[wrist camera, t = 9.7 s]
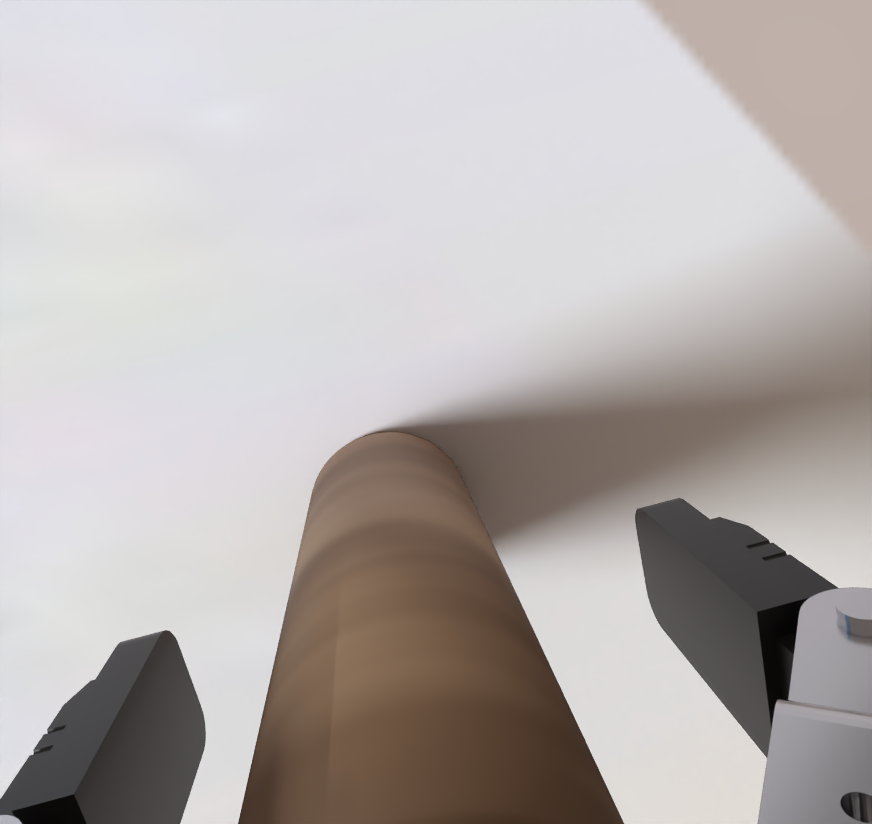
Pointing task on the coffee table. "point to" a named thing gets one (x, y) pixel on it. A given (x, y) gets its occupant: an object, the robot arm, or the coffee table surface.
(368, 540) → the dowel
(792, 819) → the robot arm
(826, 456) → the coffee table surface
